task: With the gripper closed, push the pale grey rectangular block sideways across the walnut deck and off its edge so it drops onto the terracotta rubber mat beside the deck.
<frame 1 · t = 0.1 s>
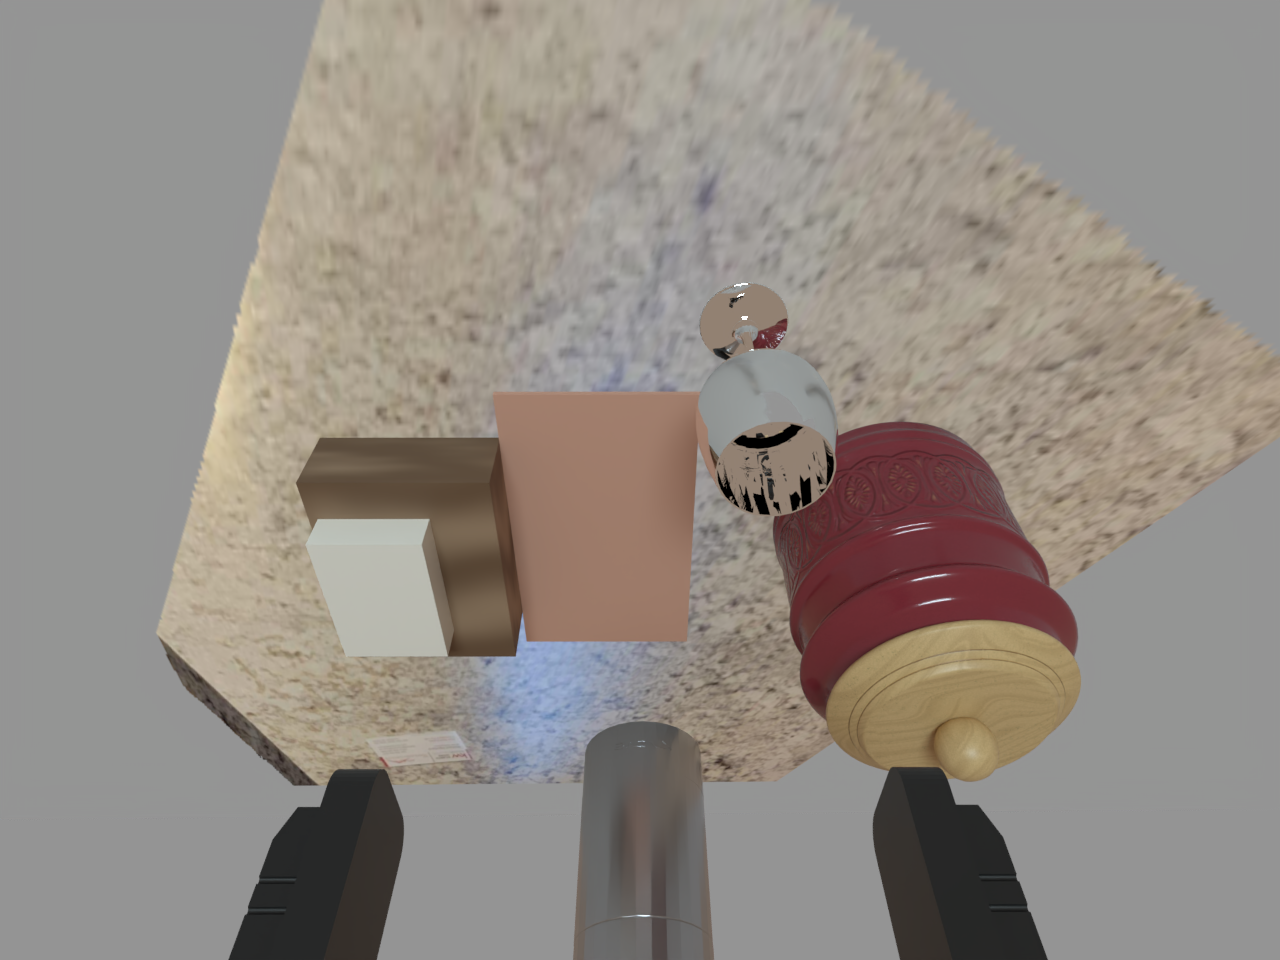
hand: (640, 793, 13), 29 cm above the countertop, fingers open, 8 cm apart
pale grey rectangular block: (390, 578, 46), point 4 cm above the countertop, touching deck
canister: (877, 502, 48), on the countertop
wineglass: (743, 321, 40), on the countertop
deck: (430, 530, 49), on the countertop
mat: (602, 530, 49), on the countertop
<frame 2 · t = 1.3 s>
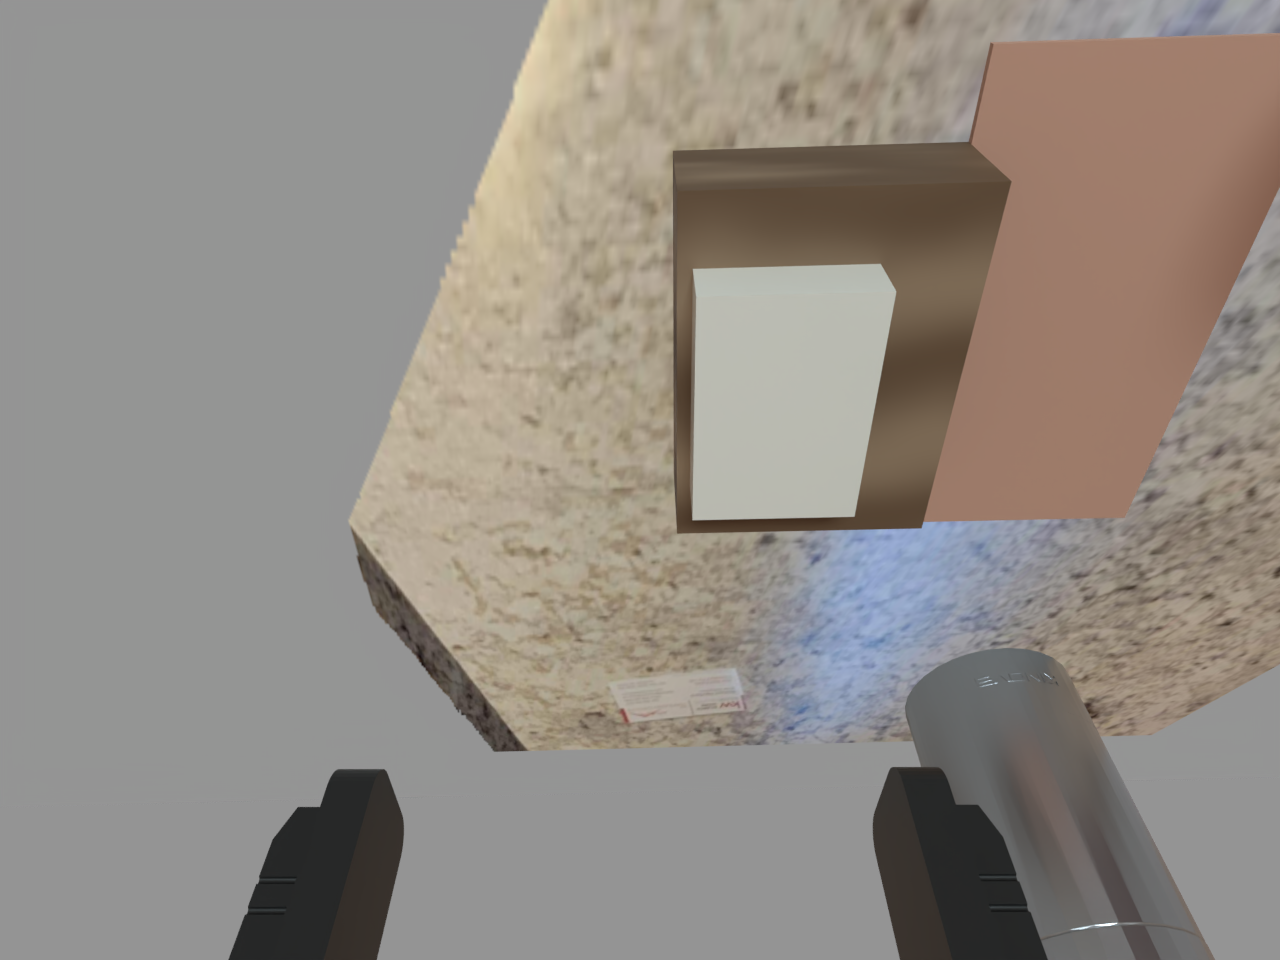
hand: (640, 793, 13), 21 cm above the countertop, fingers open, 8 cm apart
pale grey rectangular block: (775, 386, 28), point 4 cm above the countertop, touching deck
deck: (800, 331, 31), on the countertop
mat: (1069, 324, 31), on the countertop
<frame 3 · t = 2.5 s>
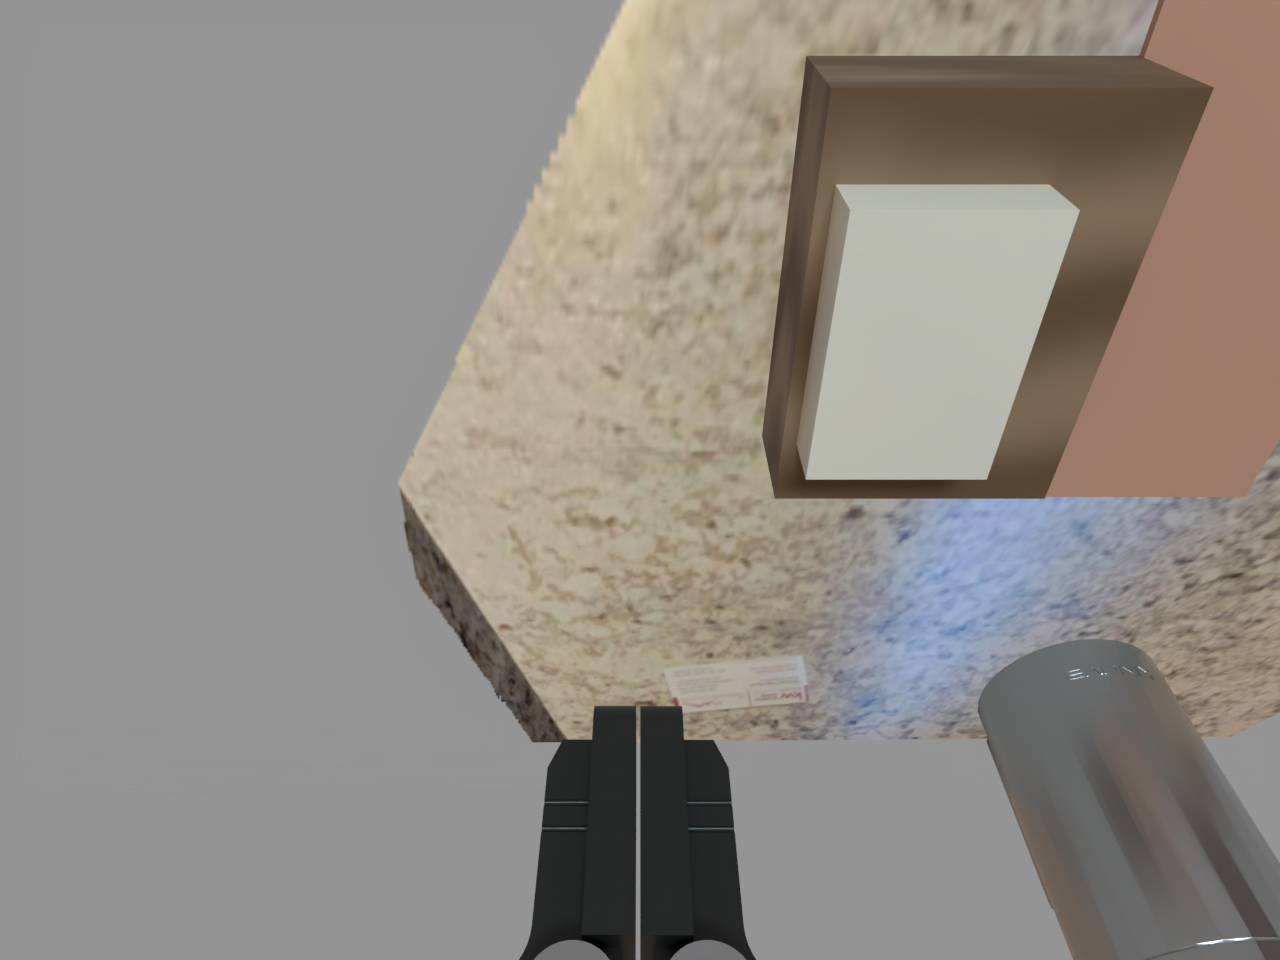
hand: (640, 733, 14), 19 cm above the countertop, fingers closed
pale grey rectangular block: (908, 328, 25), point 4 cm above the countertop, touching deck
deck: (921, 275, 28), on the countertop
mat: (1217, 275, 28), on the countertop
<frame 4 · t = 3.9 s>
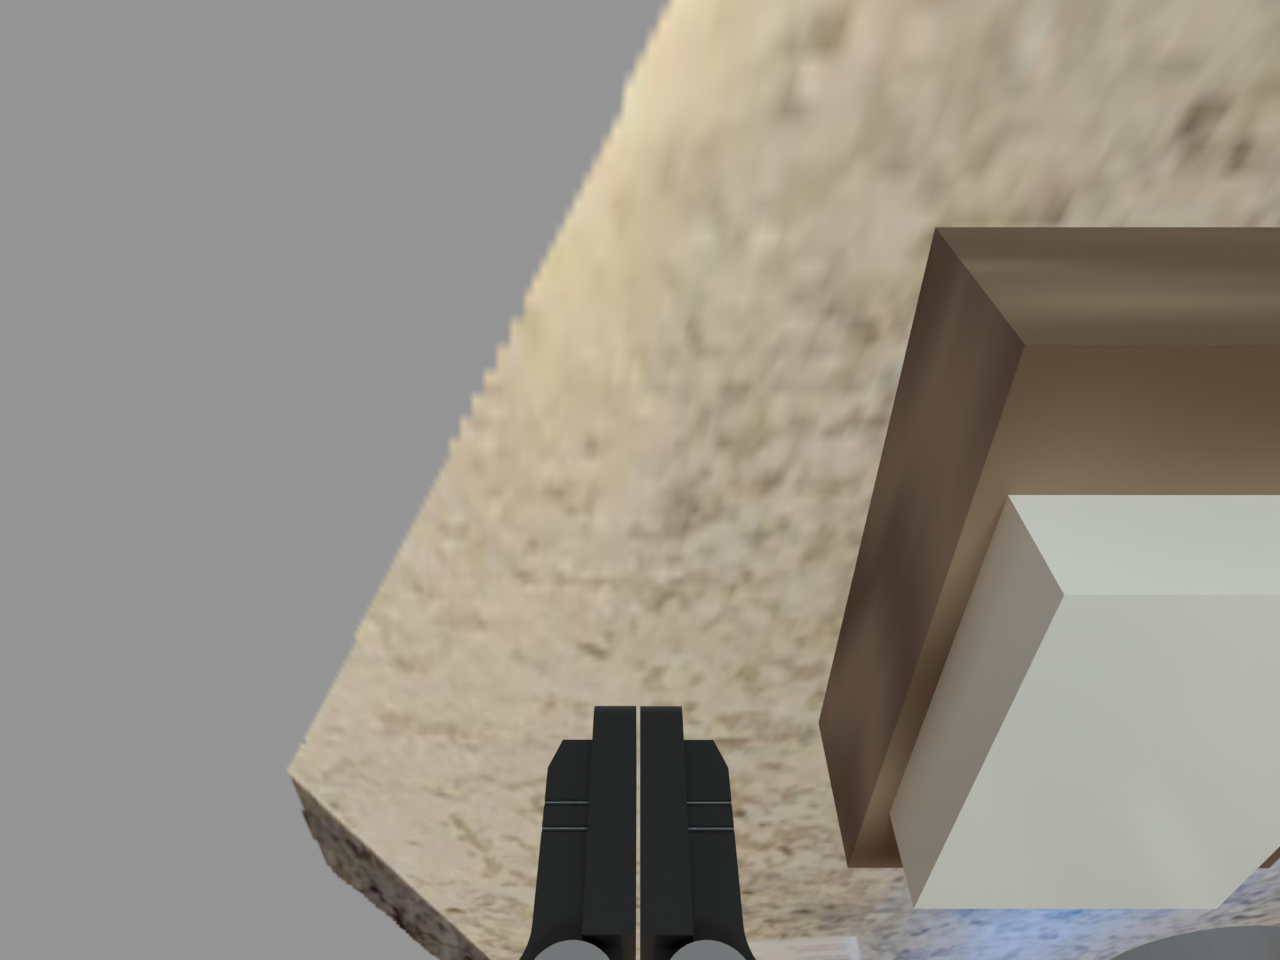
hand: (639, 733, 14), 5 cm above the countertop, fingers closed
pale grey rectangular block: (1101, 684, 15), point 4 cm above the countertop, touching deck
deck: (1087, 536, 18), on the countertop
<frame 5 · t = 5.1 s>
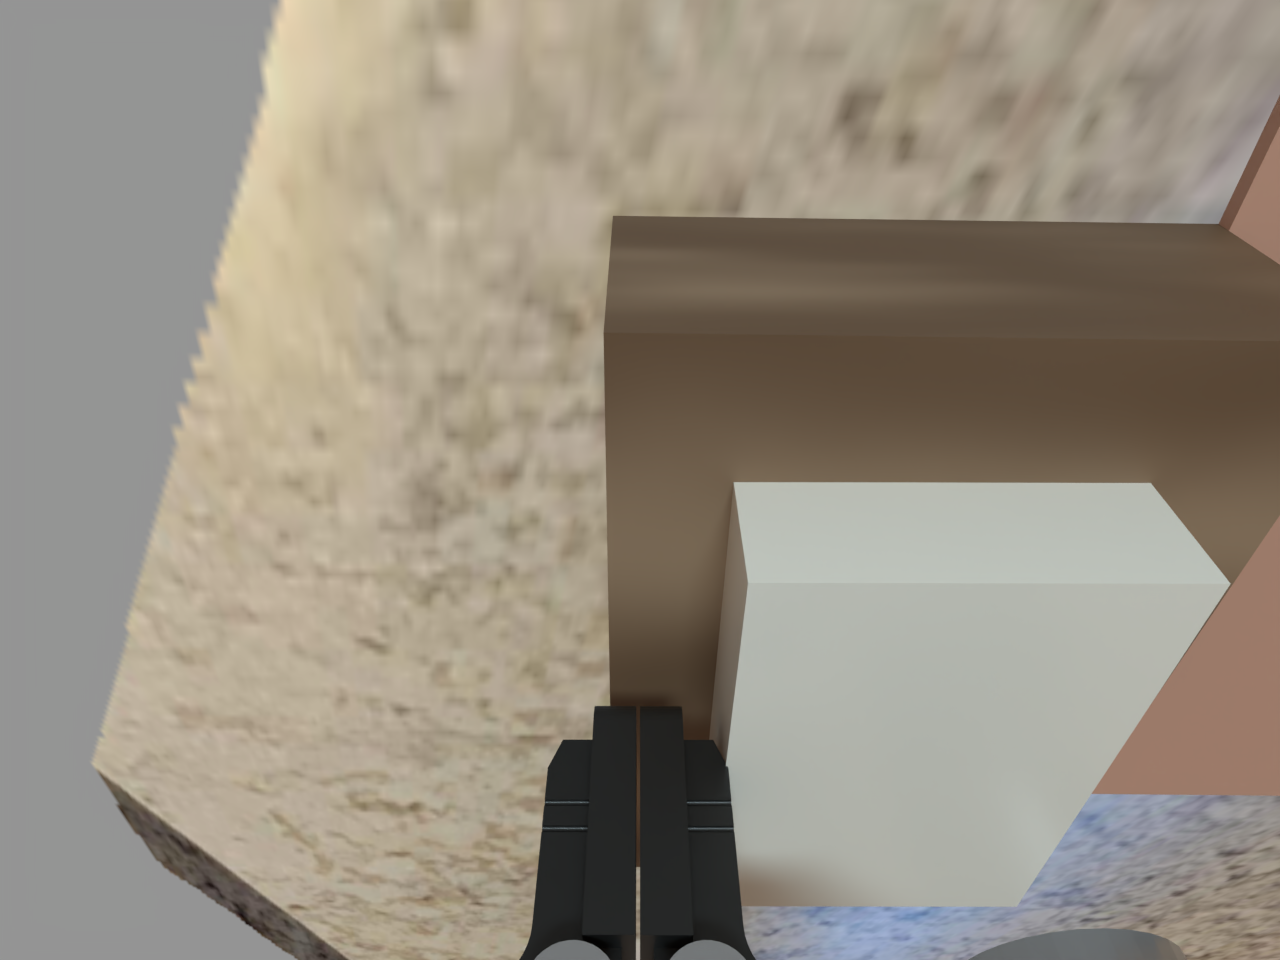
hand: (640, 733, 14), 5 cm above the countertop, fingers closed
pale grey rectangular block: (882, 678, 14), point 4 cm above the countertop, touching deck, gripper
deck: (843, 533, 18), on the countertop
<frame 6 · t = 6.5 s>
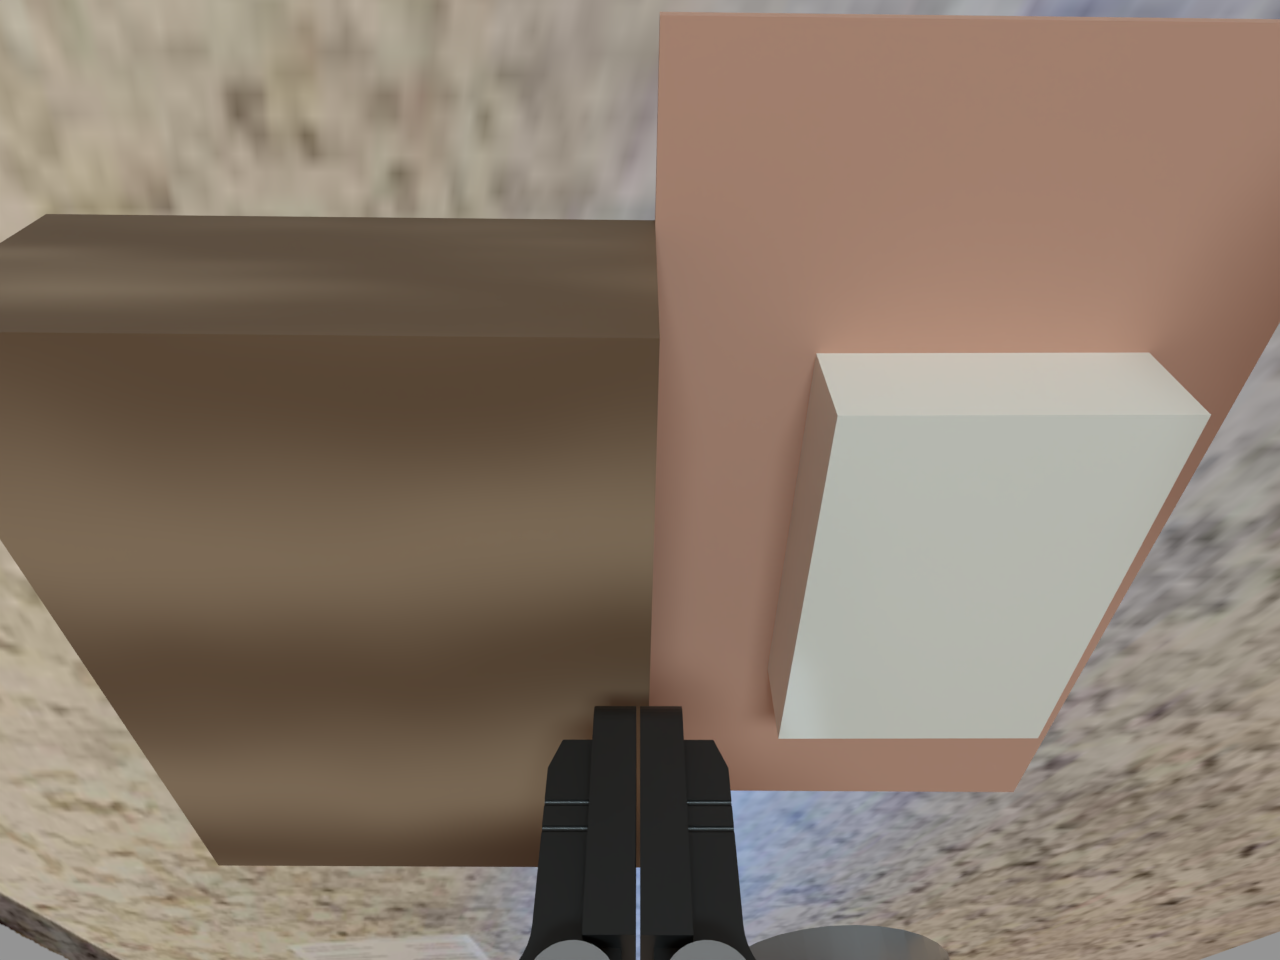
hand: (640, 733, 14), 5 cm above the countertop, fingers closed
pale grey rectangular block: (955, 605, 16), point 2 cm above the countertop, tilted 180°, touching mat
deck: (420, 531, 18), on the countertop
mat: (897, 535, 18), on the countertop
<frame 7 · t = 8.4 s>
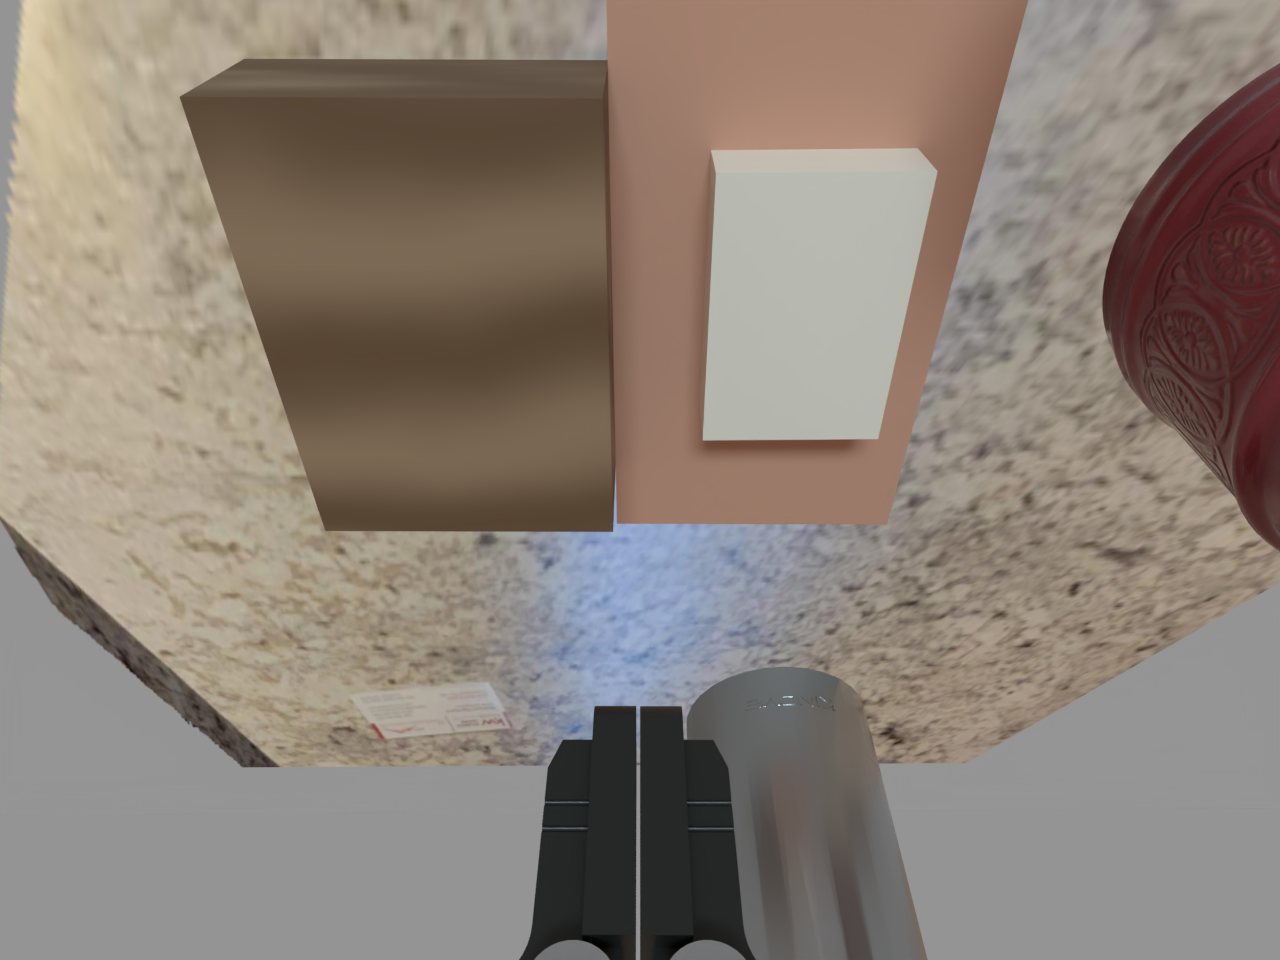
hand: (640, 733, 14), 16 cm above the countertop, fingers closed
pale grey rectangular block: (806, 321, 24), point 2 cm above the countertop, tilted 180°, touching mat
deck: (461, 293, 26), on the countertop
mat: (778, 294, 26), on the countertop
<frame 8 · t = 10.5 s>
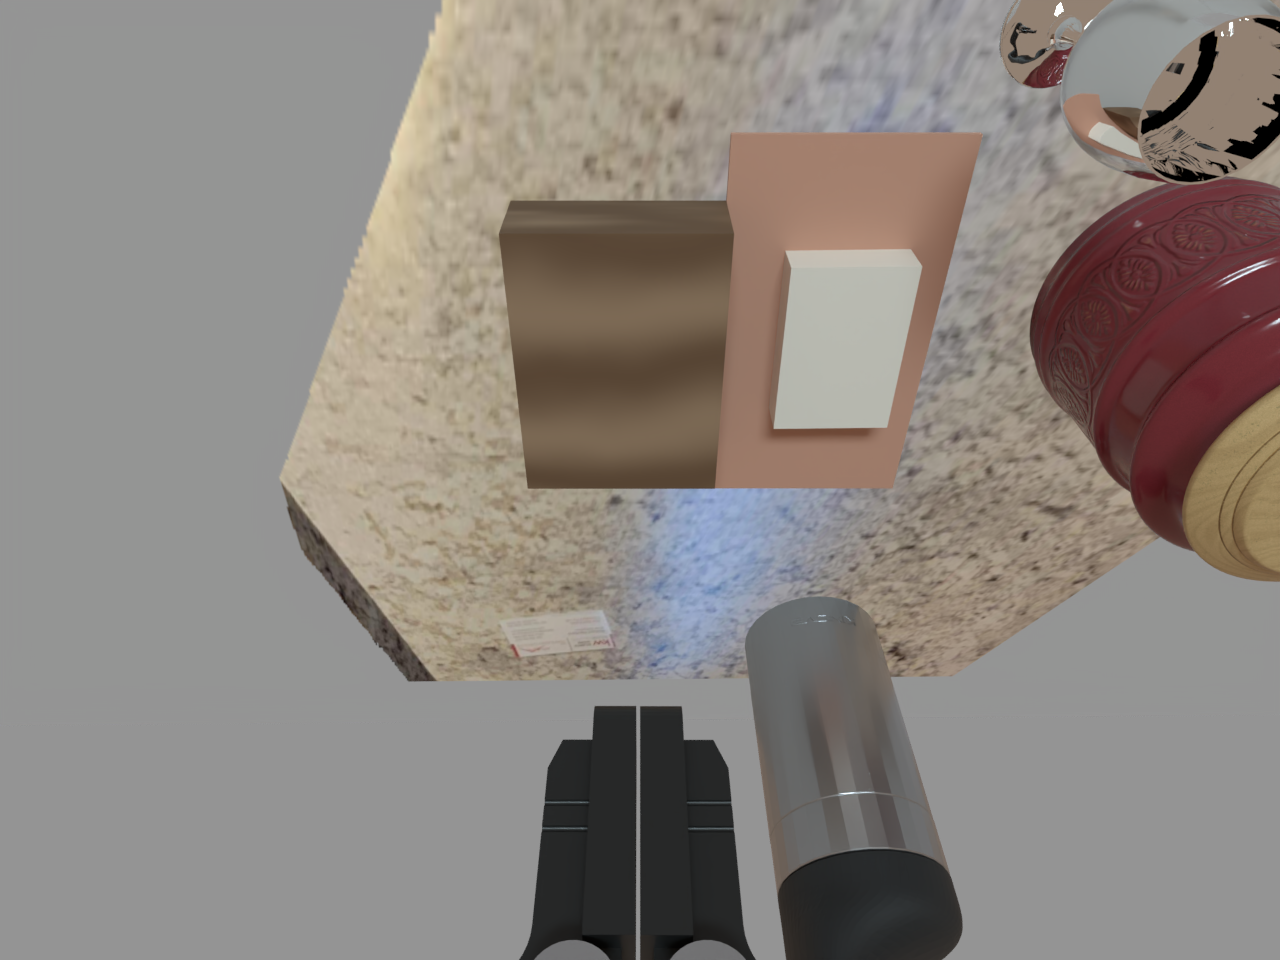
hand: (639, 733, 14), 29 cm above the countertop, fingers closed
pale grey rectangular block: (842, 353, 39), point 2 cm above the countertop, tilted 180°, touching mat
canister: (1154, 297, 40), on the countertop
wineglass: (1053, 28, 33), on the countertop
deck: (620, 335, 41), on the countertop
mat: (823, 335, 41), on the countertop
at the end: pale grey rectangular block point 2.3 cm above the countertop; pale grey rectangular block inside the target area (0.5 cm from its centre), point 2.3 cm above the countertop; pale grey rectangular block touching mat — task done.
